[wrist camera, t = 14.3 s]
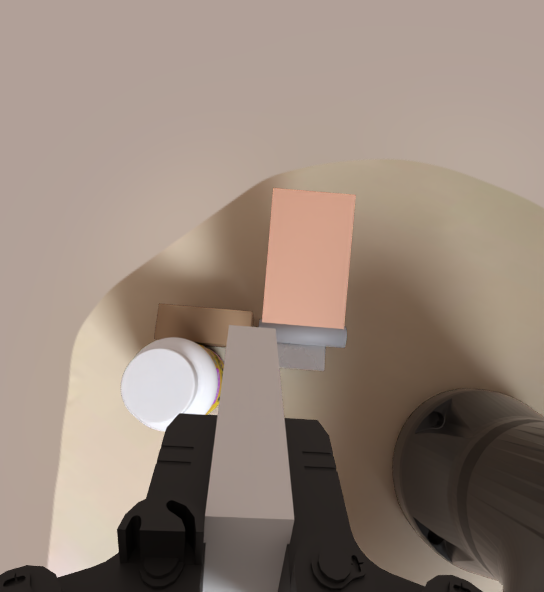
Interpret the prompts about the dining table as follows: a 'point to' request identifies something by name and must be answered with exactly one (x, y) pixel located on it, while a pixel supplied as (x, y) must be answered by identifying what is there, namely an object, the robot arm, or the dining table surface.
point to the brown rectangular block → (199, 323)
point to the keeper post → (301, 356)
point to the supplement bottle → (171, 381)
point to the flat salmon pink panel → (308, 267)
